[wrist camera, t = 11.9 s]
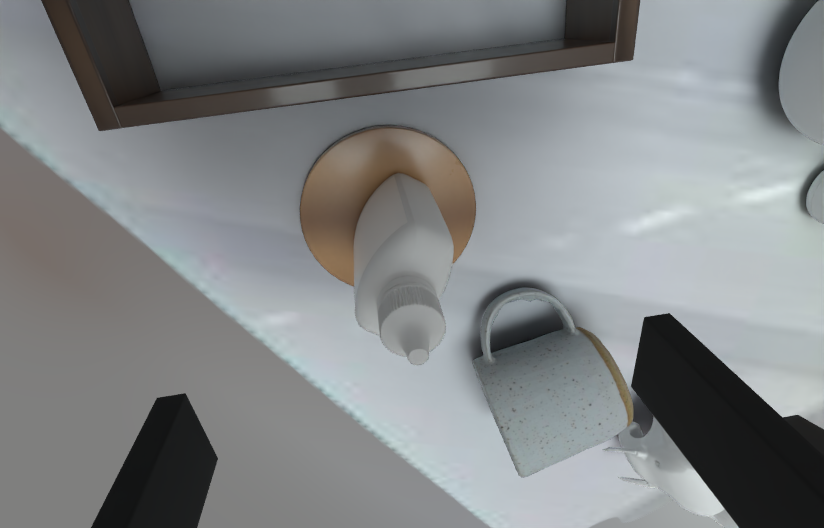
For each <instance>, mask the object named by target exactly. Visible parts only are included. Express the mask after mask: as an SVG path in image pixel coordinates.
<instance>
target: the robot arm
mask: <svg viewBox="0 0 824 528" xmlns="http://www.w3.org/2000/svg"><path fill="white" fill-rule="evenodd" d="M631 387H632V388H633V390H634V391H635V392H636V394H637V395H638V396H639V397H640V399H641V400H642V401H643V403H644V404H645V405H646V407H647V408H648V409H649V411H650V412H651V413H652V414H653V416H654V417H655V418H656V420H657V421H658V422H659V424H660V425H661V426H662V428H663V429H664V430H665V431H666V433H667V434H668V435H669V437H670V438H671V439H672V441H673V442H674V443H675V445H676V446H677V447H678V448H679V450H680V451H681V452H682V454H683V455H684V456H685V458H686V459H687V460H688V462H689V463H690V464H691V466H692V467H693V468H694V469H695V471H696V472H697V473H698V475H699V476H700V477H701V479H702V480H703V481H704V483H705V484H706V485H707V486H708V488H709V489H710V490H711V492H712V493H713V494H714V496H715V497H716V498H717V500H718V501H719V502H720V503H721V505H722V506H723V507H724V509H725V510H726V511H727V513H728V514H729V515H730V517H731V518H732V519H733V520H734V522H735V523H736V524H737V526H738V527H739V528H824V429H822V428H820V427H818V426H817V425H815V424H813V423H811V422H809V421H808V420H806V419H804V418H802V417H801V416H799V415H794V416H789V417H783V418H782V417H781V416H780V415H779V414H778V413H777V412H776V411H775V410H774V409H773V408H772V407H771V406H769V405H768V404H767V403H766V402H765V401H764V400H763V399H762V398H761V397H760V396H759V395H758V394H756V393H755V392H754V391H753V390H752V389H751V388H750V387H749V386H748V385H747V384H746V383H745V382H743V381H742V380H741V379H740V378H739V377H738V376H737V375H736V374H735V373H734V372H733V371H731V370H730V369H729V368H728V367H727V366H726V365H725V364H724V363H723V362H722V361H721V360H720V359H718V358H717V357H716V356H715V355H714V354H713V353H712V352H711V351H710V350H709V349H708V348H707V347H705V346H704V345H703V344H702V343H701V342H700V341H699V340H698V339H697V338H696V337H695V336H694V335H692V334H691V333H690V332H689V331H688V330H687V329H686V328H685V327H684V326H683V325H682V324H681V323H679V322H678V321H677V320H676V319H675V318H674V317H673V316H672V315H671V314H670V313H668V314H662V315H656V316H650V317H644V321H643V326H642V332H641V337H640V342H639V348H638V353H637V358H636V363H635V369H634V374H633V379H632V384H631ZM217 460H218V458H217V456H216V454H215V452H214V450H213V448H212V446H211V444H210V441H209V439H208V437H207V436H206V433H205V432H204V429H203V427H202V426H201V424H200V421H199V420H198V418H197V415H196V414H195V411H194V410H193V407H192V406H191V404H190V401H189V399H188V398H187V395H186V394H178V395H173V396H166V397H160V398H157V399H156V401H155V403H154V405H153V407H152V409H151V411H150V413H149V415H148V417H147V419H146V421H145V423H144V425H143V427H142V429H141V431H140V433H139V435H138V436H137V438H136V440H135V442H134V445H133V446H132V448H131V451H130V452H129V454H128V456H127V458H126V460H125V462H124V464H123V466H122V468H121V470H120V472H119V474H118V476H117V478H116V480H115V482H114V484H113V486H112V488H111V490H110V492H109V493H108V495H107V497H106V499H105V501H104V503H103V506H102V507H101V509H100V511H99V513H98V515H97V517H96V519H95V521H94V523H93V525H92V527H91V528H197V526H198V523H199V519H200V516H201V513H202V510H203V506H204V503H205V499H206V496H207V493H208V490H209V486H210V483H211V479H212V476H213V473H214V470H215V466H216V462H217Z"/></svg>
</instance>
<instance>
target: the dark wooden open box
mask: <svg viewBox="0 0 824 528" xmlns="http://www.w3.org/2000/svg"><path fill="white" fill-rule="evenodd" d="M41 1H42V3H43V6H44V8H45V10H46V12H47V15H48V17H49V19H50V21H51V24H52V26H53V28H54V30H55V33H56V35H57V37H58V39H59V42H60V44H61V46H62V48H63V51H64V53H65V55H66V57H67V60H68V62H69V64H70V67H71V69H72V71H73V73H74V76H75V78H76V80H77V82H78V85H79V87H80V89H81V91H82V94H83V96H84V98H85V100H86V103H87V105H88V107H89V109H90V112H91V114H92V116H93V118H94V121H95V123H96V125H97V128H98V130H99V131H105V130H112V129H120V128H126V127H134V126H141V125H149V124H157V123H164V122H172V121H179V120H187V119H194V118H202V117H209V116H217V115H224V114H232V113H239V112H247V111H254V110H262V109H269V108H277V107H285V106H292V105H300V104H307V103H315V102H322V101H330V100H337V99H345V98H352V97H360V96H367V95H375V94H382V93H390V92H397V91H405V90H413V89H420V88H428V87H435V86H443V85H450V84H458V83H465V82H473V81H480V80H488V79H495V78H503V77H510V76H518V75H525V74H533V73H540V72H548V71H556V70H563V69H571V68H578V67H586V66H593V65H601V64H608V63H616V62H624V61H631V60H633V56H634V47H635V39H636V31H637V23H638V15H639V6H640V0H567V10H566V29H565V39H558V40H550V41H542V42H534V43H526V44H519V45H511V46H503V47H495V48H488V49H480V50H472V51H464V52H457V53H449V54H441V55H433V56H426V57H418V58H410V59H402V60H395V61H387V62H379V63H371V64H364V65H356V66H348V67H340V68H333V69H325V70H317V71H309V72H302V73H294V74H286V75H278V76H271V77H263V78H255V79H247V80H240V81H232V82H224V83H216V84H209V85H201V86H193V87H185V88H178V89H170V90H162V91H161V90H160V88H159V85H158V82H157V79H156V77H155V74H154V71H153V68H152V65H151V63H150V60H149V57H148V54H147V52H146V49H145V46H144V43H143V40H142V38H141V35H140V32H139V29H138V27H137V24H136V21H135V18H134V16H133V13H132V10H131V7H130V4H129V2H128V0H41Z"/></svg>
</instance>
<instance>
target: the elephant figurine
mask: <svg viewBox="0 0 824 528" xmlns="http://www.w3.org/2000/svg"><path fill="white" fill-rule="evenodd" d="M619 442H620V445H621V447H622V448H612V447H609V448H607V449H603V450H605V451H608V452H624V453H625V455H626V457H627V459H628V461H629V463H630V464H631V466H632V468H633V469H634V471H635V472H636V473H637V474H638V475H639V476H640V477H641V478H643V479H644V480H640V479H634V478H624V477H618V478H620V479H622V480H624V481H626V482H629V483H632V484H635V485H638V486H643V487H647V488H650V489H652V488H658V489H659V490H661V491H662V492H664V493H666V494H667V495H669V496H670V497H671V498H672V499H673V500H674V501H676V503H677V504H679V505H680V506H681V507H682V508H684V509H686V510H687V511H689V512H691V513H694V514H697V515H700V516H709V517H710V518H712V519H713V520H714V521H716V522H717V523H718V524H719V525H721V526H722V527H724V528H739V527H738V526H737V524H736V523H735V522H734V520H733V519H732V518H731V517H730V515H729V514H728V513H727V511H726V510H725V509H724V507H723V506H722V505H721V503H720V502H719V501H718V500H717V498H716V497H715V496H714V494H713V493H712V492H711V490H710V489H709V488H708V486H707V485H706V484H705V483H704V481H703V480H702V479H701V477H700V476H699V475H698V473H697V472H696V471H695V469H694V468H693V467H692V466H691V464H690V463H689V462H688V460H687V459H686V458H685V456H684V455H683V454H682V452H681V451H680V450H679V448H678V447H677V446H676V445H675V443H674V442H673V441H672V439H671V438H670V437H669V435H668V434H667V433H666V431H665V430H664V429H663V428H662V426H661V425H660V424H659V422H658V421H657V420H656V418H655V417H654V416H653V424H652V427H651V429H650V430H649V432H648V433H647V434H646V435H645V436H644V435H643V433H642V430H641V428H640V426H639V424H637V423H636V422H631V424H630V425H629V426H628V427H627V428H626V429H624V430H623V431H622V432H620V433H619Z"/></svg>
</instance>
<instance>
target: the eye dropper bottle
mask: <svg viewBox="0 0 824 528" xmlns="http://www.w3.org/2000/svg"><path fill="white" fill-rule="evenodd" d="M453 253H454V246H453V241H452V237H451V235H450V232H449V230H448V227H447V225H446V223H445V221H444V219H443V217H442V214H441V212H440V210H439V208H438V206H437V204H436V202H435V200H434V198H433V195H432V193H431V191H430V189H429V188H428V187H427V186H426V185H425V184H424V183H422V182H420V181H418V180H416V179H414V178H412V177H410V176H408V175H406V174H402V173H397V174H394V175H392V176H390V177H389V178H388V179H387V180H385V181H384V182H383V183H382V184H381V185H380V186H379V187H378V188H377V189H376V190H375V191H374V193H373V194H372V195H371V197H370V198H369V199H368V201H367V203H366V204H365V206H364V208H363V210H362V212H361V214H360V217H359V220H358V223H357V226H356V231H355V236H354V300H355V316H356V320H357V322H358V324H359V326H361V327H362V328H363V329H365V330H366V331H369V332H371V333H374V334H376V335H379V336H380V338H381V341H382V343H383V344H384V346H385V347H386V348H387V349H388V350H390V351H391V352H392V353H395V354H397V355H399V356H404V357H407V358H408V360H409V362H410V363H411V364H413V365H422V364H424V363H425V362H426V361H427V360H428V358H429V352H430V351H432V350H433V349H435V348H436V347H437V346H438V345H439V344H440V342H441V341H442V339H443V337H444V336H445V335H444V334H445V333H446V332H445V330H446V323H445V319H444V316H443V312H442V309H441V306H440V303H439V300H440V299H441V296H442V294H443V292H444V290H445V288H446V285H447V282H448V279H449V276H450V272H451V268H452V262H453Z"/></svg>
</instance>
